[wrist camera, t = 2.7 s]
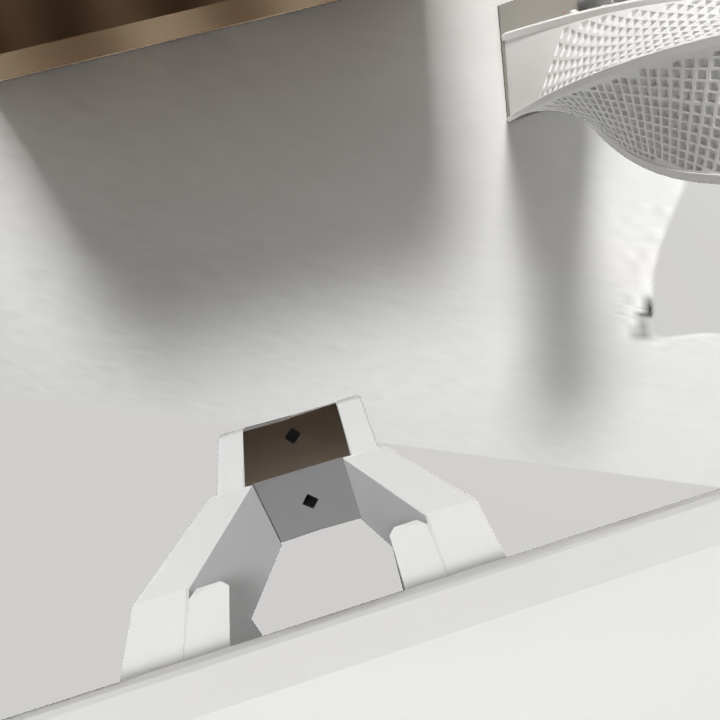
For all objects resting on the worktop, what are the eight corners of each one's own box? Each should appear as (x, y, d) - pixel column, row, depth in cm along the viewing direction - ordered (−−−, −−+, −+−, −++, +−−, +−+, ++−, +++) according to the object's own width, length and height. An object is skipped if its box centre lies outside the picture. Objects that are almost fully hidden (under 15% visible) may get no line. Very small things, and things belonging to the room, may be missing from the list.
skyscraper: (594, 110, 36) (1213, 244, 13) (493, 147, 36) (945, 345, 13) (597, -30, 31) (1587, -194, 8) (479, 12, 31) (1164, -40, 8)
